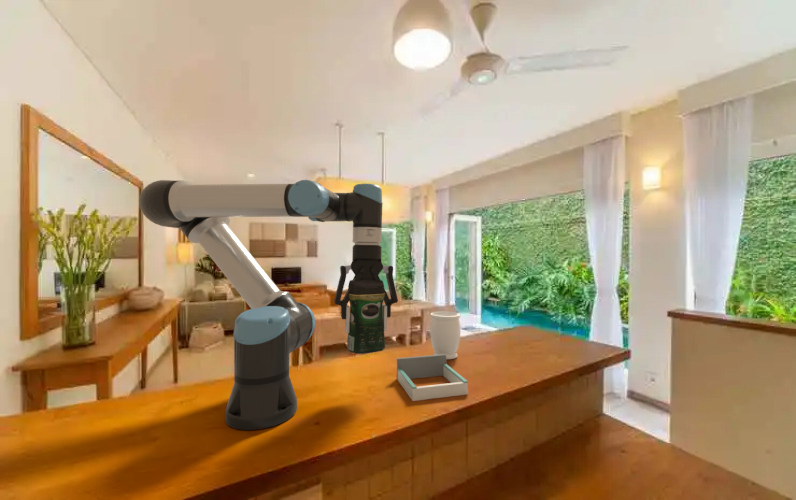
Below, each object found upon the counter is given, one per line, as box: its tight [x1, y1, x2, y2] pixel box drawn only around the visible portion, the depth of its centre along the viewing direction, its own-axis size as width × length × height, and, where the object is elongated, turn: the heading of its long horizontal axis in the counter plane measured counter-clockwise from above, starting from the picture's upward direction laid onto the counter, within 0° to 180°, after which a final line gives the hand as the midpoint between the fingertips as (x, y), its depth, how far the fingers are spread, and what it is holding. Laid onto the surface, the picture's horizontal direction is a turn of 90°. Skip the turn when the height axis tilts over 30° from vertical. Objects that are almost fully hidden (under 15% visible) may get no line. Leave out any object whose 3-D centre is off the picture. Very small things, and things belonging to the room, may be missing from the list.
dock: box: [396, 354, 469, 402], centre depth 93 cm, size 15×15×6 cm
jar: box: [429, 311, 461, 360], centre depth 120 cm, size 11×10×15 cm
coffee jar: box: [346, 279, 386, 355], centre depth 88 cm, size 10×8×19 cm
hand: (365, 330), depth 88 cm, fingers closed on coffee jar, 9 cm apart
